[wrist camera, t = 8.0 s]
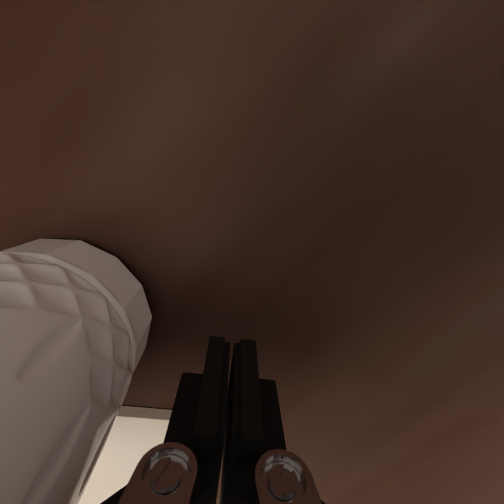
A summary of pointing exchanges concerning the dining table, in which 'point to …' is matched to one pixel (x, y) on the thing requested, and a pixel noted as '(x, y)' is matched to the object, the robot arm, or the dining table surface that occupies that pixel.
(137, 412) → the cream tile
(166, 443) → the robot arm
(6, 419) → the white cup
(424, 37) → the dining table surface
